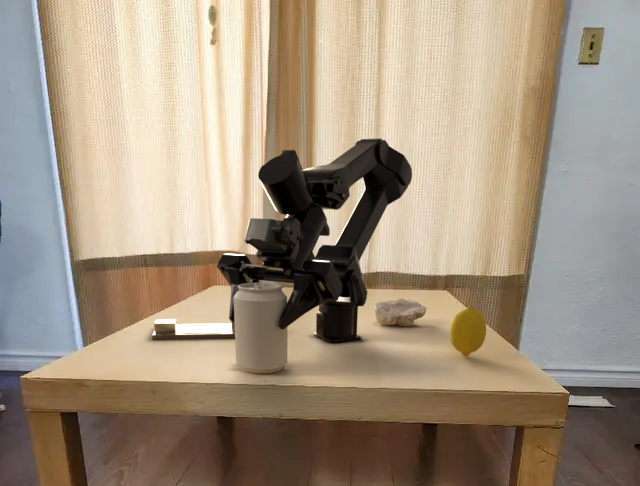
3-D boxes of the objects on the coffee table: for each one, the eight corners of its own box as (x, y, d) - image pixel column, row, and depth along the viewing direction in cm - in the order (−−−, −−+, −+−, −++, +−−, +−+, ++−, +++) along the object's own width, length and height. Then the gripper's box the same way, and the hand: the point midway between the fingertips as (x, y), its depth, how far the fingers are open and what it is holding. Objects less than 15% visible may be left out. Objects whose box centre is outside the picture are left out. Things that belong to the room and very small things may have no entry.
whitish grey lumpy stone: (434, 312, 112) (392, 293, 108) (418, 342, 114) (376, 324, 110) (416, 300, 120) (376, 282, 116) (402, 329, 122) (362, 312, 118)
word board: (274, 326, 111) (274, 314, 110) (279, 337, 103) (278, 324, 102) (157, 328, 108) (156, 316, 107) (152, 339, 100) (151, 326, 99)
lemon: (490, 358, 91) (496, 308, 89) (464, 362, 89) (470, 310, 86) (466, 350, 96) (471, 302, 93) (440, 354, 93) (445, 304, 90)
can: (240, 376, 80) (236, 288, 76) (232, 362, 87) (229, 281, 82) (292, 373, 82) (292, 287, 77) (281, 359, 89) (281, 280, 84)
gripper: (221, 195, 83) (173, 281, 78) (335, 197, 75) (289, 294, 70) (255, 249, 92) (214, 329, 88) (359, 256, 84) (320, 345, 79)
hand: (255, 324), depth 81 cm, fingers open, 8 cm apart
